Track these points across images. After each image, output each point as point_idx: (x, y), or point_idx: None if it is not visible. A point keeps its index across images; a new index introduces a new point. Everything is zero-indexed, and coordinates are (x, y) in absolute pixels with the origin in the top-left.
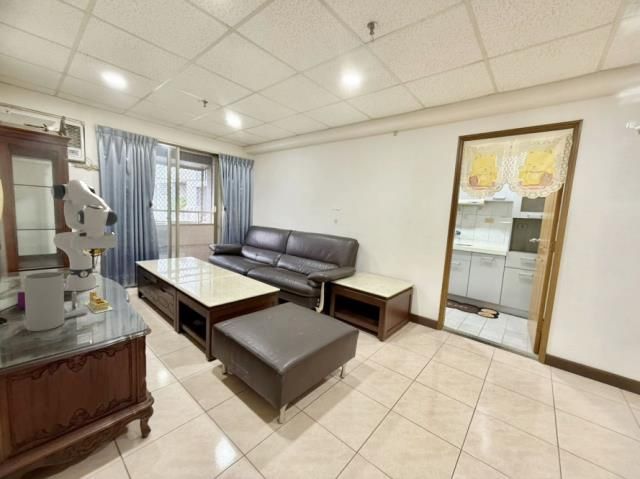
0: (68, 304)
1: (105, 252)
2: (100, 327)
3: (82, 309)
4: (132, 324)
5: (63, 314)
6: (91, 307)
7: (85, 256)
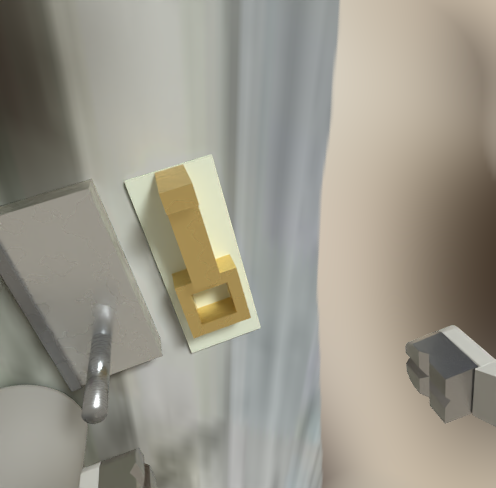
0: (56, 269)
1: (475, 410)
2: (211, 475)
3: (141, 362)
4: (299, 474)
5: (83, 464)
6: (170, 272)
7: (148, 481)
